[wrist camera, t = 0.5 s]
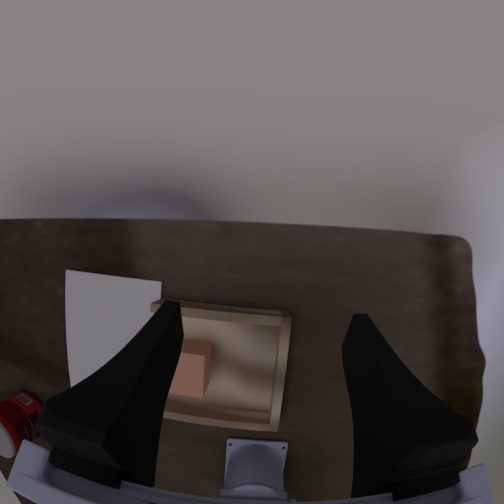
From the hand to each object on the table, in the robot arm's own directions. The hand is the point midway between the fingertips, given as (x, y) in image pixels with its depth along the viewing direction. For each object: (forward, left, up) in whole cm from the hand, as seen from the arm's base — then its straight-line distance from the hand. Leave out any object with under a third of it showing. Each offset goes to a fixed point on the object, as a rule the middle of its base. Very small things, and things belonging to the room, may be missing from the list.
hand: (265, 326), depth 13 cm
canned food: (-26, +36, -23) cm, 50 cm away
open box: (-10, +5, -23) cm, 26 cm away
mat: (-10, +19, -23) cm, 32 cm away
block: (-10, +8, -23) cm, 26 cm away
